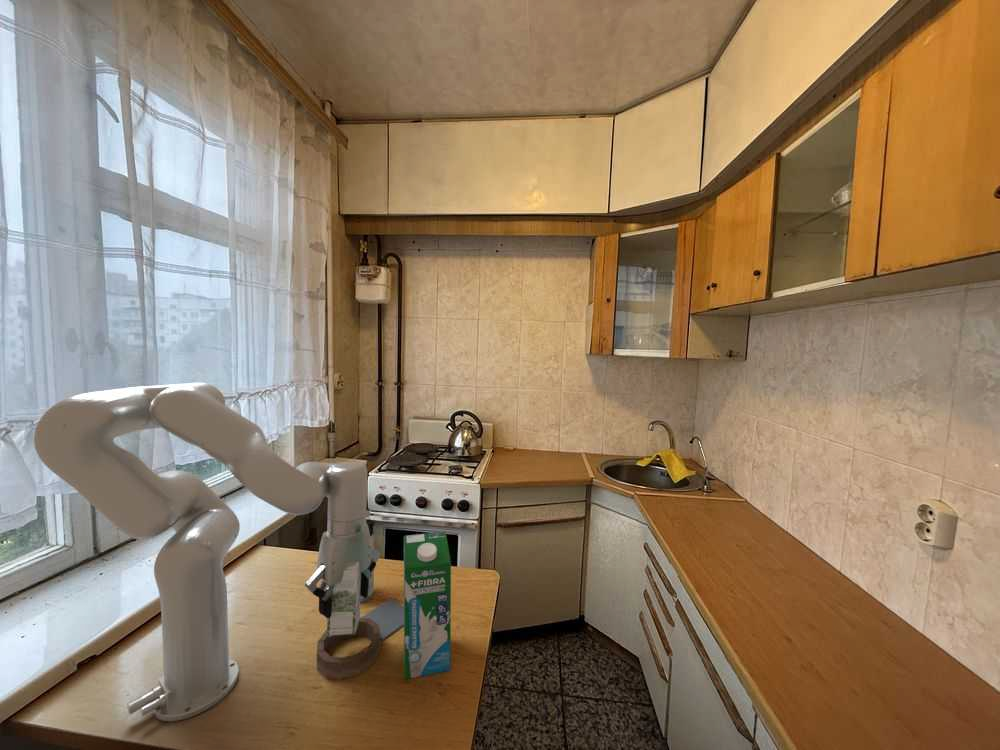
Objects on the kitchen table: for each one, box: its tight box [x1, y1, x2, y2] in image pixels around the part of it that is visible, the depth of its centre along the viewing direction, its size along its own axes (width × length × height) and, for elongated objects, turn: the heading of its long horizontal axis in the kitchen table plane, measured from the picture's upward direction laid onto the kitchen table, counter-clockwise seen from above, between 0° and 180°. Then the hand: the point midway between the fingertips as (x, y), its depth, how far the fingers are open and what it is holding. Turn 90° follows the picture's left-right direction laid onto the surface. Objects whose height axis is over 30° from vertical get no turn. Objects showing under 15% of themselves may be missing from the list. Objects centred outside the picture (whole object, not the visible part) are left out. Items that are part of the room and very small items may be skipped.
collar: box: [316, 617, 382, 681], centre depth 79 cm, size 12×12×4 cm
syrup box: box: [326, 562, 361, 637], centre depth 79 cm, size 6×6×14 cm
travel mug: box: [360, 518, 376, 604], centre depth 98 cm, size 6×7×20 cm
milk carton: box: [403, 530, 452, 680], centre depth 78 cm, size 9×9×25 cm
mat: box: [360, 598, 404, 642], centre depth 90 cm, size 10×10×1 cm
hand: (344, 604), depth 79 cm, fingers closed on syrup box, 7 cm apart
